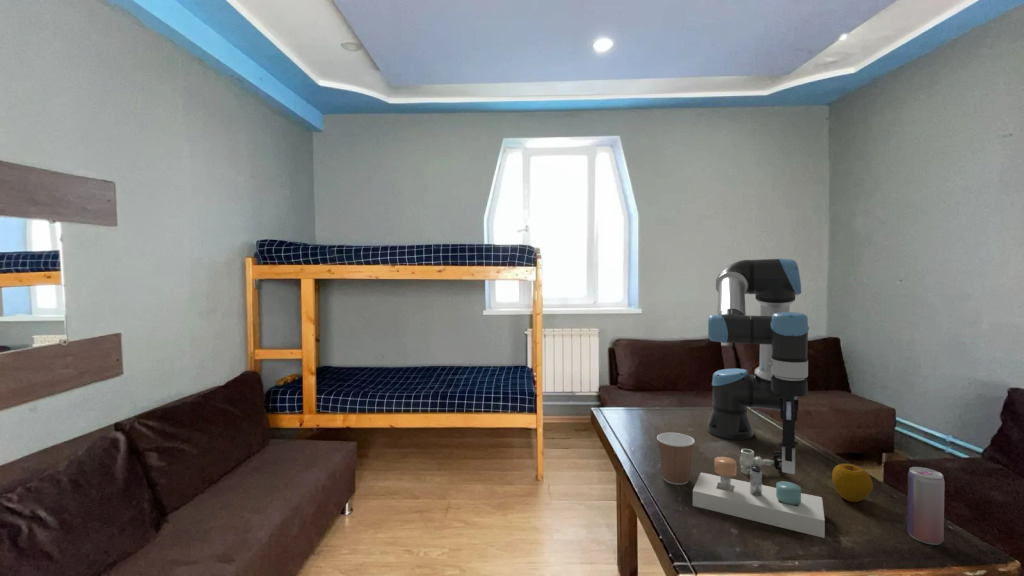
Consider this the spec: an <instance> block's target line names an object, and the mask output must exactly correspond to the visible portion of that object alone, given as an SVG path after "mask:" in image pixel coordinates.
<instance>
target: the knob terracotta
mask: <svg viewBox="0 0 1024 576" xmlns="http://www.w3.org/2000/svg"><path fill="white" fill-rule="evenodd" d="M737 463H738V462H737V461H736V460H735V459H733V458H731V457H727V456H717V457H714V472H715V474H718V476H720V487H721V488H723V489H727V490H728V489H731V479H732V478H733V477H736V476H737V474H738V473H737V472H738V470H737V469H738V468H737Z"/></svg>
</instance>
